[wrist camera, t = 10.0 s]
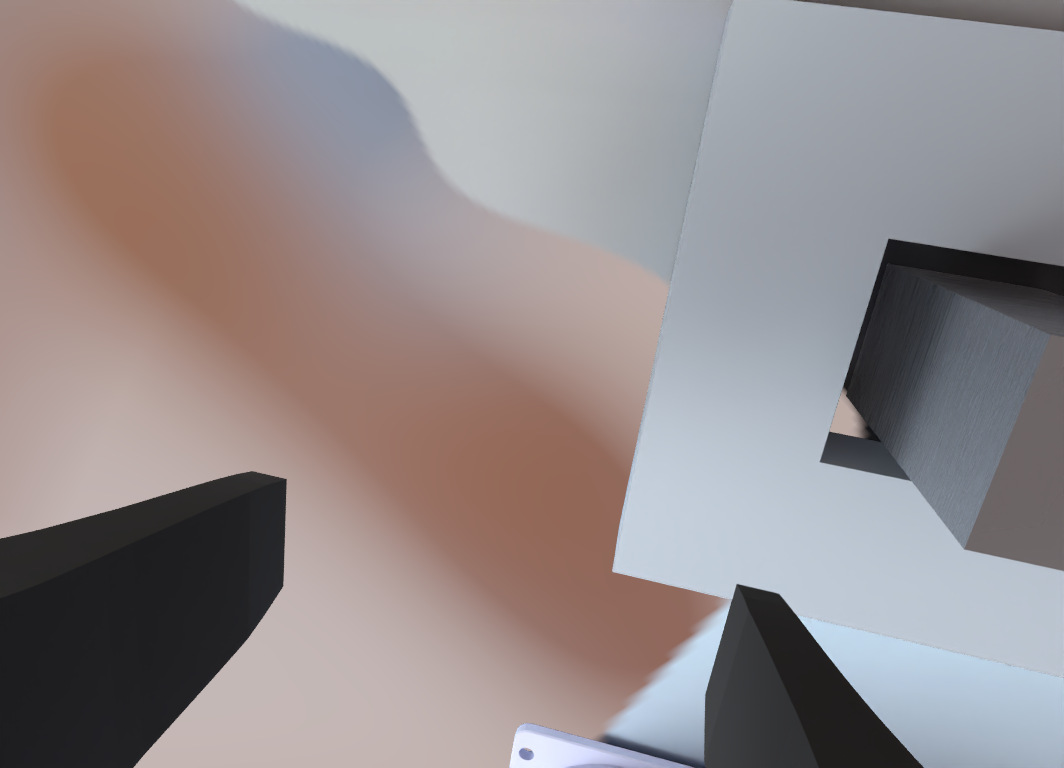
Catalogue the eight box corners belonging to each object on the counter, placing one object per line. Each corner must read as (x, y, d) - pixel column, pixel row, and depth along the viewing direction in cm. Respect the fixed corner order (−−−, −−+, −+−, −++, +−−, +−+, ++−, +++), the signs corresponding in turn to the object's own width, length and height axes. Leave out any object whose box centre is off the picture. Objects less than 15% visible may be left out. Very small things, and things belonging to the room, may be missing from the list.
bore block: (1118, 639, 19) (1181, 705, 17) (619, 526, 21) (612, 571, 19) (1394, 99, 15) (1533, 85, 12) (725, 19, 16) (735, -7, 14)
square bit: (987, 422, 18) (1212, 603, 11) (846, 395, 19) (964, 549, 11) (1040, 288, 17) (1333, 384, 9) (887, 263, 17) (1050, 335, 10)
